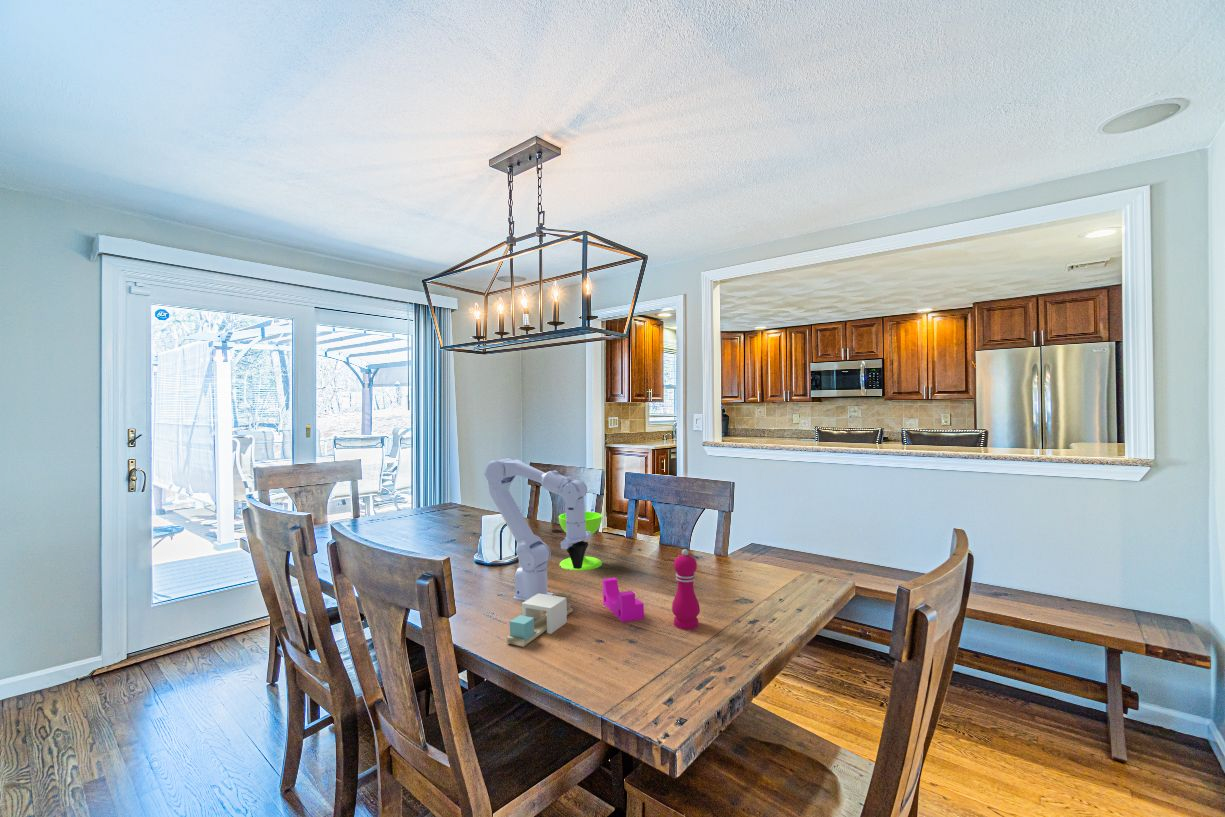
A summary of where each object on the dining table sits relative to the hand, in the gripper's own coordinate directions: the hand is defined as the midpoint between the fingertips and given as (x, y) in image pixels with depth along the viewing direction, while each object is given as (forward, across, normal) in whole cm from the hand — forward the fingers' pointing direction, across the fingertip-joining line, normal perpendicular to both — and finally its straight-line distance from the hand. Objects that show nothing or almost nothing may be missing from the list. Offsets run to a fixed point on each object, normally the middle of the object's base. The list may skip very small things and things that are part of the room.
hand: (577, 567), depth 155 cm
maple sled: (+10, -25, 0) cm, 27 cm away
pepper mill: (+12, -2, -33) cm, 35 cm away
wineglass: (+10, +34, +18) cm, 40 cm away
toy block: (+11, 0, -14) cm, 18 cm away
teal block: (+9, -28, 0) cm, 30 cm away
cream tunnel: (+10, -18, 0) cm, 21 cm away
